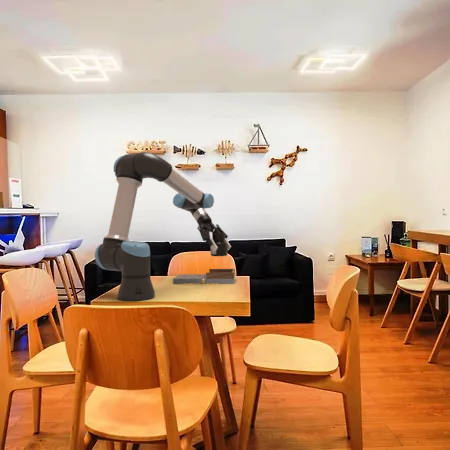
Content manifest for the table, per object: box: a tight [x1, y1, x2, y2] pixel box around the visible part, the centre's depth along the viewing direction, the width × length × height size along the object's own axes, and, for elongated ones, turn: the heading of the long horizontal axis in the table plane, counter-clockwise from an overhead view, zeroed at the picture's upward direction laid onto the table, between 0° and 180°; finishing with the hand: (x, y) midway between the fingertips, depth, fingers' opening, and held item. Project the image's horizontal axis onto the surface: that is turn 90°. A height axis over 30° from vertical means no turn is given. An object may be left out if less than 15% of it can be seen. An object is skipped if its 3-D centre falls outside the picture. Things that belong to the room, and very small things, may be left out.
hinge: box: [172, 273, 236, 285], centre depth 203 cm, size 18×31×3 cm, turn 86°
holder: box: [205, 268, 236, 279], centre depth 202 cm, size 16×14×3 cm
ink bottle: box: [210, 232, 228, 257], centre depth 202 cm, size 10×9×12 cm
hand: (222, 249), depth 200 cm, fingers closed on ink bottle, 9 cm apart
